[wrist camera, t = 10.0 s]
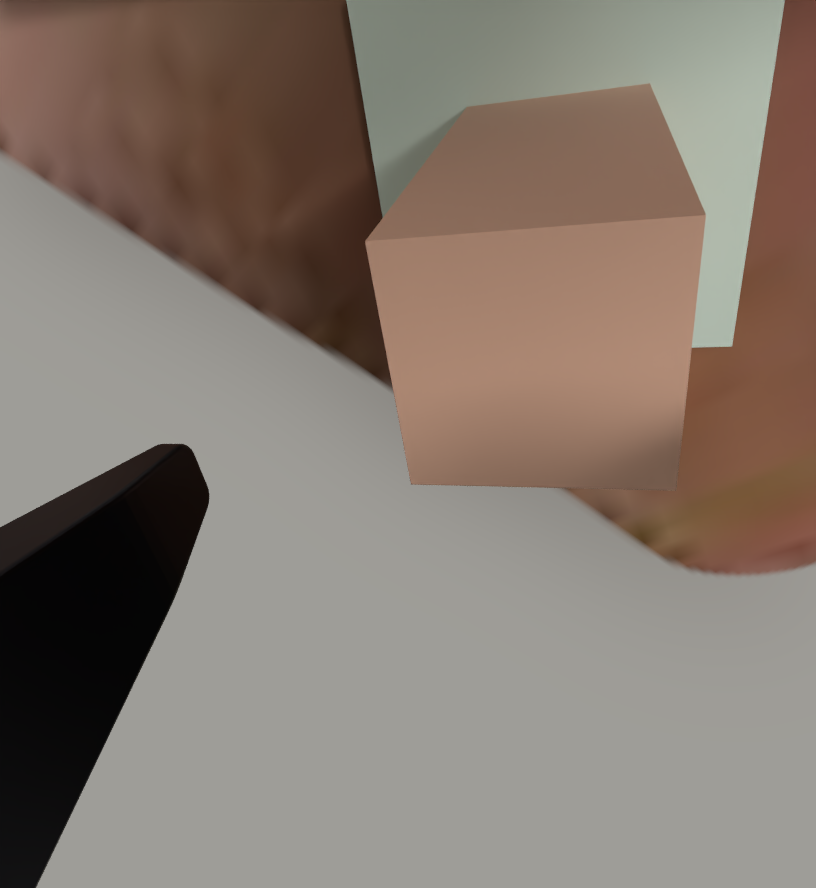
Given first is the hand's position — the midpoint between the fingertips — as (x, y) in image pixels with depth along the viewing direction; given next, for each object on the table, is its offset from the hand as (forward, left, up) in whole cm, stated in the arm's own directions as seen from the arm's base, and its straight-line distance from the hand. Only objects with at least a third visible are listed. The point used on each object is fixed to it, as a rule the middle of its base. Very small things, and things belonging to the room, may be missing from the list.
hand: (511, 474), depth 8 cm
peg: (0, 0, -12) cm, 12 cm away
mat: (0, 0, -13) cm, 13 cm away
